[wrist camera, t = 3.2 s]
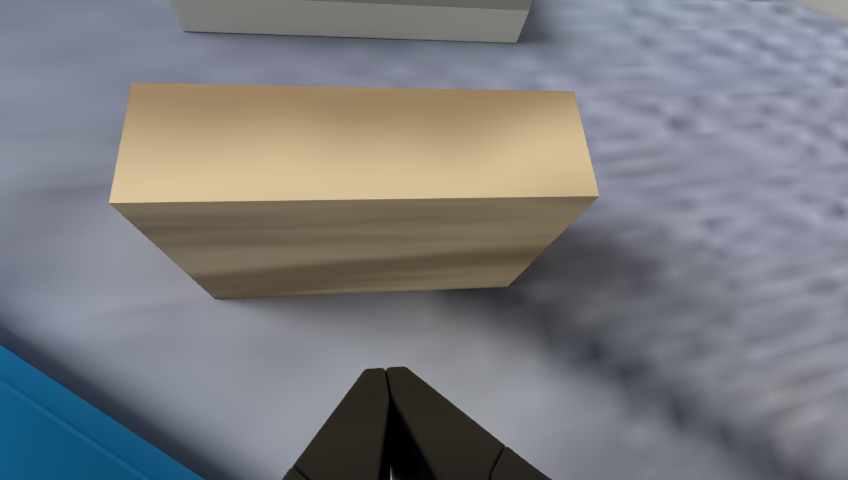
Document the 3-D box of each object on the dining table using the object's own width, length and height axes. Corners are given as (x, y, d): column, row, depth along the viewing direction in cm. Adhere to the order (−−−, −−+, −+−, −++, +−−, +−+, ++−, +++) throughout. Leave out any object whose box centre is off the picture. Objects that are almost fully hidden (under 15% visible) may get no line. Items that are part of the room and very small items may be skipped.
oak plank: (507, 287, 24) (599, 196, 15) (215, 299, 22) (109, 202, 13) (496, 215, 25) (573, 91, 16) (222, 220, 23) (131, 82, 14)
